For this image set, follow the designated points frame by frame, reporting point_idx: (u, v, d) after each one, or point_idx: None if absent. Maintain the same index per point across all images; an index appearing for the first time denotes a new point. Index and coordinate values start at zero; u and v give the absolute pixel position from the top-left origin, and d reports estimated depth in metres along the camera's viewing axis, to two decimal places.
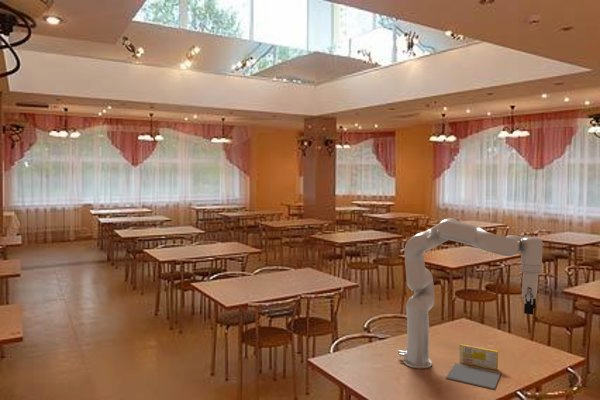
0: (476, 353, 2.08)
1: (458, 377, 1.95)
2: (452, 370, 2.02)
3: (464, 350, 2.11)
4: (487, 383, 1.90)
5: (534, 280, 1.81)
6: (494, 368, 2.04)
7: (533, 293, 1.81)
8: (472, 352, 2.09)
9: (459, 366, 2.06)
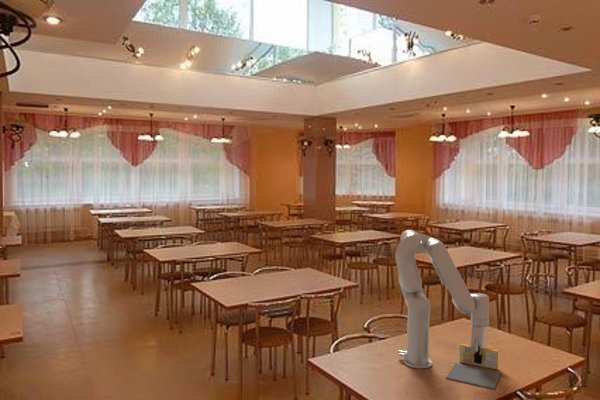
0: None
1: (458, 377, 1.95)
2: (452, 370, 2.02)
3: (464, 350, 2.11)
4: (487, 383, 1.90)
5: (481, 333, 2.03)
6: (494, 368, 2.04)
7: None
8: (472, 352, 2.09)
9: (459, 366, 2.06)
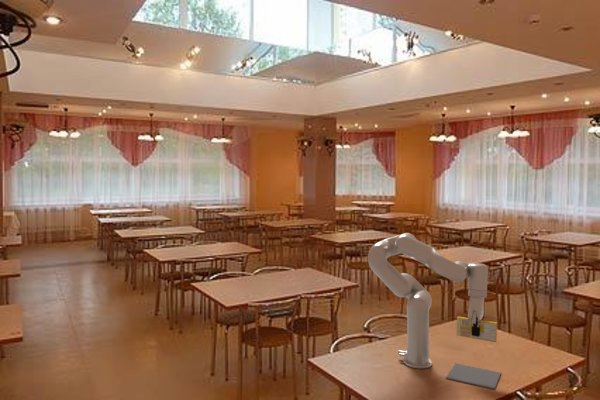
0: None
1: (458, 377, 1.95)
2: (452, 370, 2.02)
3: (461, 322, 2.02)
4: (487, 383, 1.90)
5: (479, 304, 1.95)
6: (493, 340, 1.96)
7: None
8: (470, 324, 2.00)
9: (459, 366, 2.06)
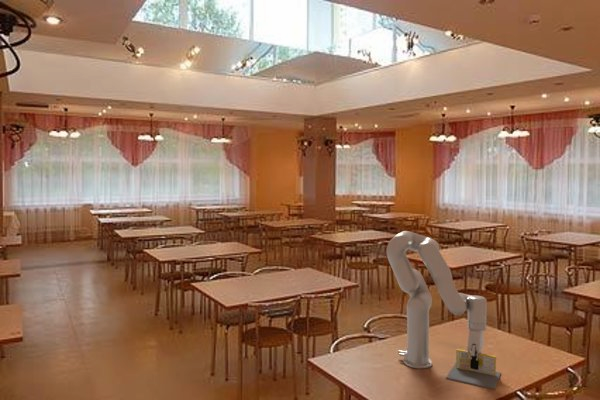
0: None
1: (458, 377, 1.95)
2: (452, 370, 2.02)
3: (461, 355, 2.03)
4: (487, 383, 1.90)
5: (478, 337, 1.95)
6: (492, 374, 1.97)
7: (477, 351, 1.96)
8: (469, 357, 2.01)
9: None
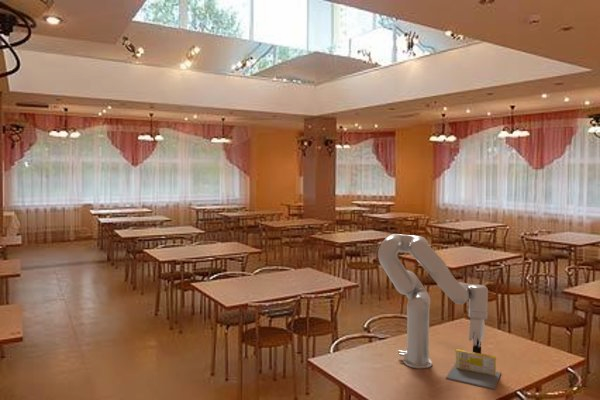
0: (473, 359, 2.00)
1: (458, 377, 1.95)
2: (452, 370, 2.02)
3: (460, 356, 2.03)
4: (487, 383, 1.90)
5: (479, 325, 1.97)
6: (492, 374, 1.97)
7: (479, 341, 1.98)
8: (469, 358, 2.01)
9: None
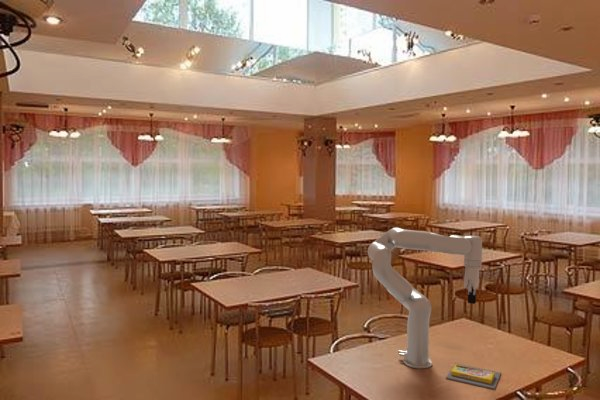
0: None
1: (458, 377, 1.95)
2: None
3: None
4: (487, 383, 1.90)
5: (474, 273, 2.07)
6: None
7: (474, 288, 2.08)
8: None
9: None
